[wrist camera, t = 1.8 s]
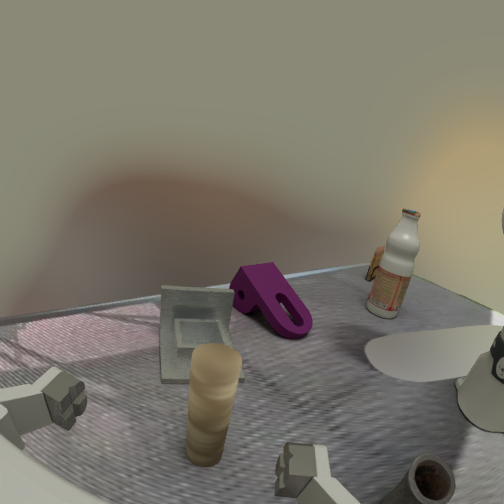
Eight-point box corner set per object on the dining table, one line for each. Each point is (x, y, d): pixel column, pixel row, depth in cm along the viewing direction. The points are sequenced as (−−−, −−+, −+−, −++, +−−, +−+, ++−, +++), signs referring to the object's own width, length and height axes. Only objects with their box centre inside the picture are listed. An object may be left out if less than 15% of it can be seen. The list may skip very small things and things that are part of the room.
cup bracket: (225, 333, 51) (233, 289, 49) (244, 382, 39) (255, 333, 37) (159, 331, 47) (161, 285, 45) (161, 383, 36) (162, 332, 33)
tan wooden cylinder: (217, 438, 28) (235, 343, 24) (225, 465, 25) (247, 373, 20) (183, 440, 27) (189, 342, 23) (188, 467, 24) (195, 374, 19)
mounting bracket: (297, 347, 61) (256, 286, 70) (320, 326, 56) (273, 262, 65) (267, 360, 55) (224, 292, 63) (290, 339, 50) (240, 266, 59)
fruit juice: (368, 315, 68) (401, 207, 60) (363, 300, 77) (390, 203, 68) (400, 322, 66) (434, 217, 58) (392, 307, 75) (421, 212, 67)
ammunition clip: (373, 274, 103) (382, 244, 99) (378, 276, 102) (386, 246, 98) (365, 279, 95) (374, 247, 91) (369, 281, 94) (379, 248, 90)
